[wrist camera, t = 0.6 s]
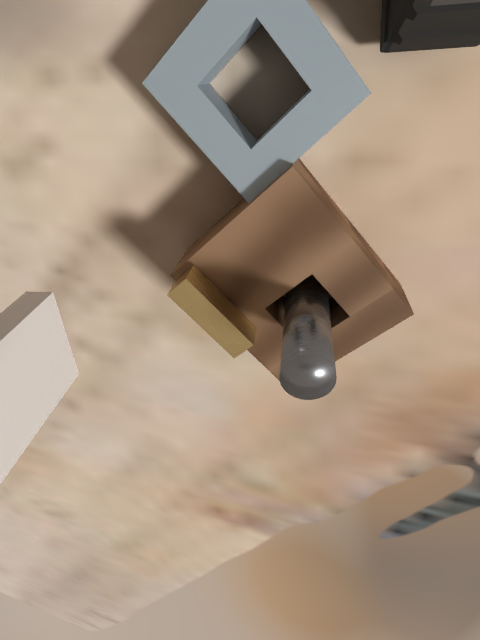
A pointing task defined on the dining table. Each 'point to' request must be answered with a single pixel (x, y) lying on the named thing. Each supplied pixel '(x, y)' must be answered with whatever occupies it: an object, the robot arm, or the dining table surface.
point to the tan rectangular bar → (213, 312)
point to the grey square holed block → (215, 115)
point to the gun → (429, 24)
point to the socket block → (297, 265)
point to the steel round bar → (307, 342)
